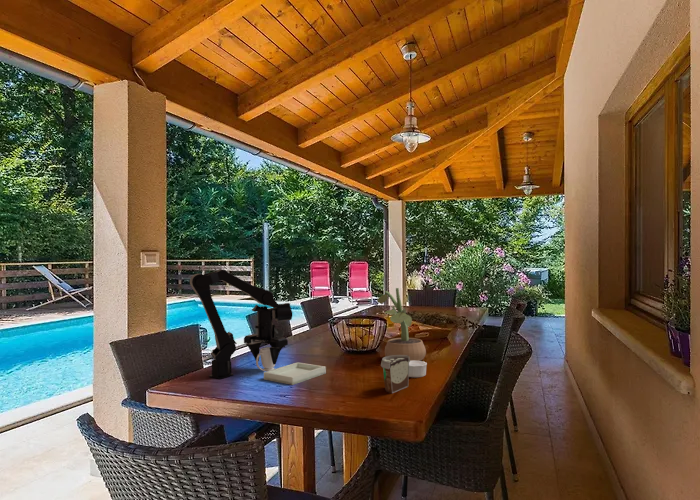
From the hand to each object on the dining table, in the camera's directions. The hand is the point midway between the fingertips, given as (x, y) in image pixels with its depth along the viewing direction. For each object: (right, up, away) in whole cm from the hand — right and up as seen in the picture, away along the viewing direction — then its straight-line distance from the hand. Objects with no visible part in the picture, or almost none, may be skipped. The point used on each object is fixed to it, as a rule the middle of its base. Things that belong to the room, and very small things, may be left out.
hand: (265, 362), depth 183 cm
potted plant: (+54, -2, +11) cm, 55 cm away
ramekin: (+56, -2, -12) cm, 57 cm away
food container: (+46, -2, -28) cm, 54 cm away
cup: (0, -3, 0) cm, 3 cm away
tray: (+13, -3, -10) cm, 16 cm away
